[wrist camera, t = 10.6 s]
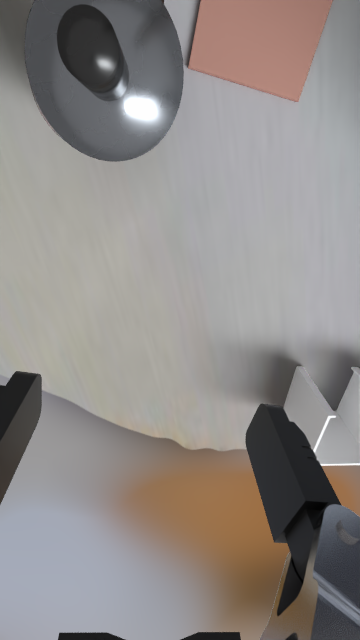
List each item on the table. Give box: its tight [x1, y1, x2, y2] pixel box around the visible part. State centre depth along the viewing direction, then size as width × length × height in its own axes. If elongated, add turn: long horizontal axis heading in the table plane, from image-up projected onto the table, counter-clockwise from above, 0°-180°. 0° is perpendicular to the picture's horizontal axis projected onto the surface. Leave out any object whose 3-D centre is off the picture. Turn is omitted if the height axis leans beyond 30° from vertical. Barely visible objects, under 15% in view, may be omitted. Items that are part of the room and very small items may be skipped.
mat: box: [188, 0, 333, 102], centre depth 27 cm, size 12×12×1 cm
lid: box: [25, 0, 184, 161], centre depth 19 cm, size 11×11×7 cm
